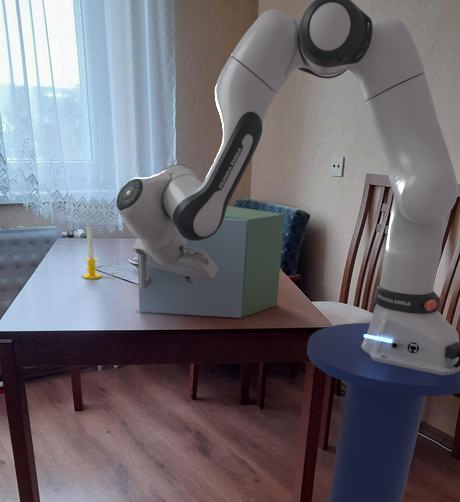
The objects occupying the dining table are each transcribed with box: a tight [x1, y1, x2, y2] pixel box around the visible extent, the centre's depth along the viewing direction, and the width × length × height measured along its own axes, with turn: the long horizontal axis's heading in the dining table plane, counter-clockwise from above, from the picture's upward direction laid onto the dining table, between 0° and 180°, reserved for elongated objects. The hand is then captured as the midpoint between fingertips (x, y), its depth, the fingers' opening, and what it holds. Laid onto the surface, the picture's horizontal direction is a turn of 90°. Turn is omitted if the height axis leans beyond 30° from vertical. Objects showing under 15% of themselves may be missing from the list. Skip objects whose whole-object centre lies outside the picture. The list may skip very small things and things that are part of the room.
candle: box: [82, 225, 102, 280], centre depth 167 cm, size 5×5×16 cm
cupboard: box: [224, 205, 286, 318], centre depth 149 cm, size 16×26×24 cm, turn 53°
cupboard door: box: [136, 219, 247, 319], centre depth 133 cm, size 6×26×24 cm, turn 88°
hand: (192, 280), depth 135 cm, fingers closed
